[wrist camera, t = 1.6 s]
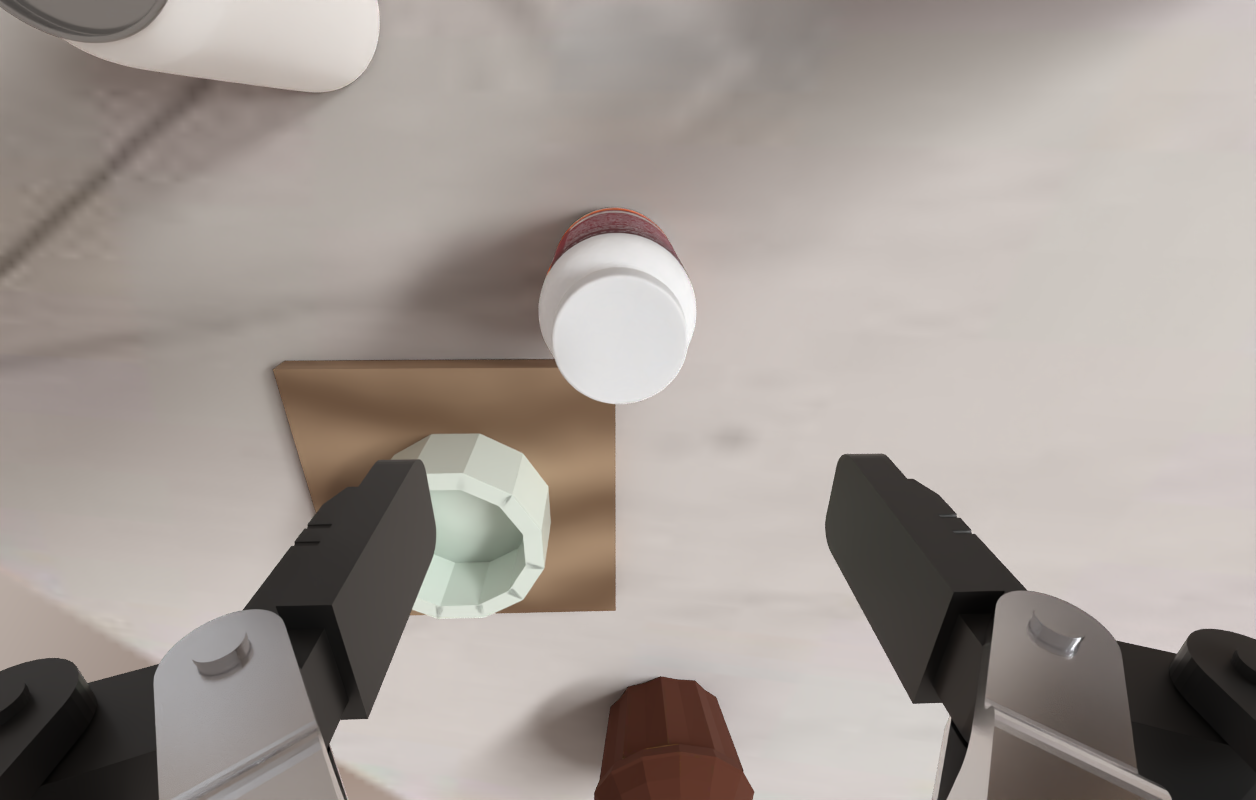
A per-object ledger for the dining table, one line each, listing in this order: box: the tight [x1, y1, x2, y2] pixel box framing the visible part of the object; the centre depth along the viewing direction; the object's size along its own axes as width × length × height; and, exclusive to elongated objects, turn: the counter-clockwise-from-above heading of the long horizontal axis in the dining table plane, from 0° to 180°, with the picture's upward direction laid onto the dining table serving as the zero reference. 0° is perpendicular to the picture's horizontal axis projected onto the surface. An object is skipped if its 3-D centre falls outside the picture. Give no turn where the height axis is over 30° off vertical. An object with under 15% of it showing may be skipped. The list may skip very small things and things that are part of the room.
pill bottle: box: [538, 207, 696, 404], centre depth 23 cm, size 6×6×11 cm
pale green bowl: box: [391, 434, 551, 619], centre depth 31 cm, size 10×10×4 cm
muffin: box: [594, 677, 754, 800], centre depth 40 cm, size 12×11×10 cm
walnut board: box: [273, 359, 616, 615], centre depth 33 cm, size 18×18×1 cm
